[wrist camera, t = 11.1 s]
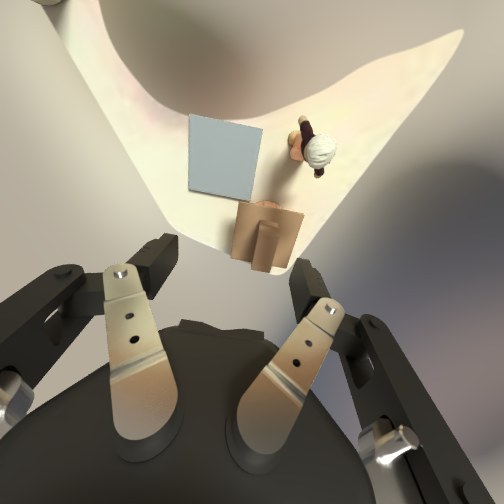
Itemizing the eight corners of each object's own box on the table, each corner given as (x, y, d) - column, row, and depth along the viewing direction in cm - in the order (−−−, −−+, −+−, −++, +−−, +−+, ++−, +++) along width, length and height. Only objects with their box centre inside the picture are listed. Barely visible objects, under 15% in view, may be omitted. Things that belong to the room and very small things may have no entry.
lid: (231, 255, 34) (225, 275, 29) (239, 200, 29) (234, 213, 24) (285, 266, 34) (289, 287, 29) (303, 213, 29) (311, 228, 24)
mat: (189, 188, 34) (188, 189, 34) (190, 113, 28) (189, 113, 28) (250, 200, 34) (250, 201, 34) (262, 129, 29) (262, 129, 28)
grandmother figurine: (277, 134, 29) (285, 130, 18) (299, 116, 28) (322, 100, 17) (302, 177, 32) (322, 196, 21) (323, 162, 31) (356, 174, 20)
